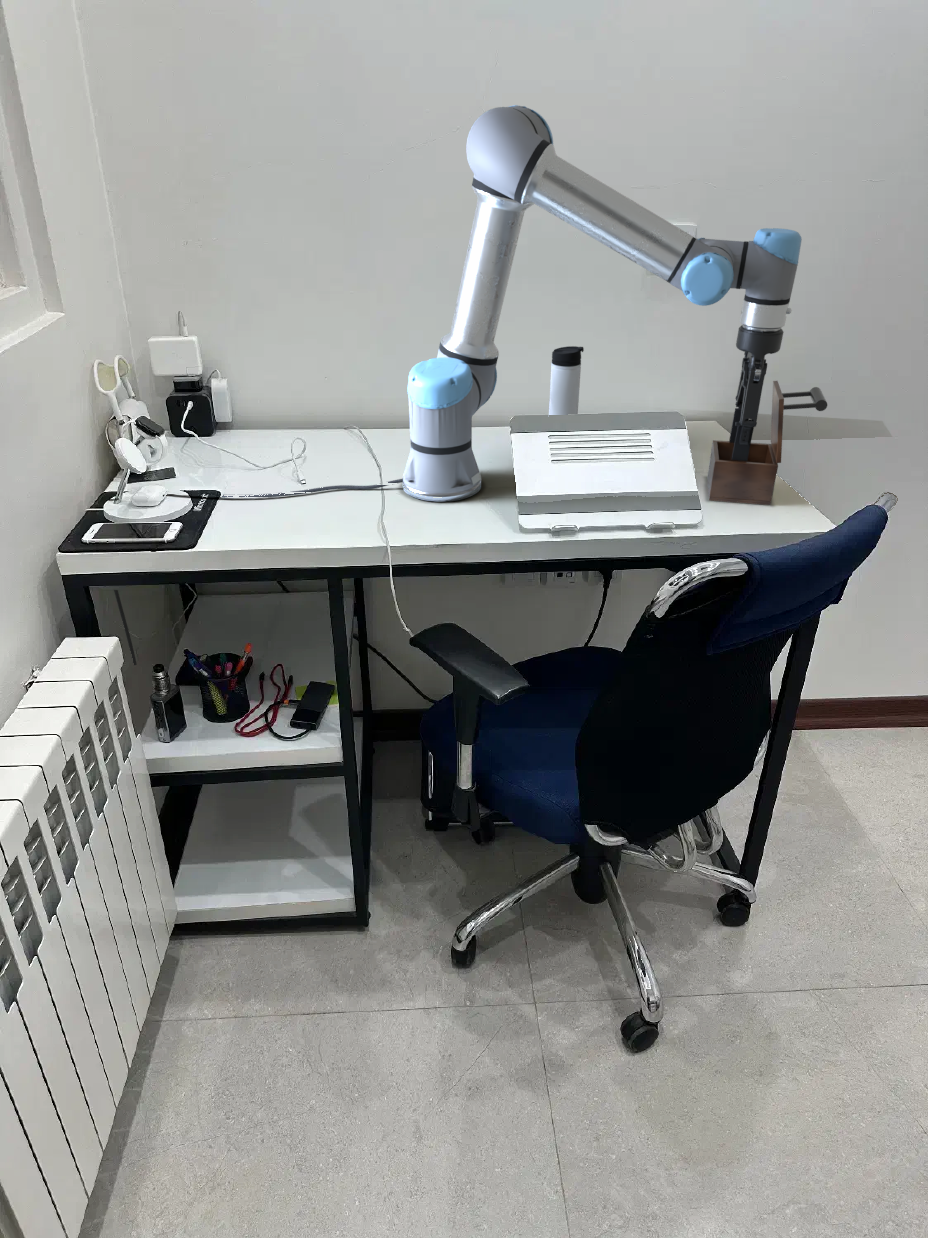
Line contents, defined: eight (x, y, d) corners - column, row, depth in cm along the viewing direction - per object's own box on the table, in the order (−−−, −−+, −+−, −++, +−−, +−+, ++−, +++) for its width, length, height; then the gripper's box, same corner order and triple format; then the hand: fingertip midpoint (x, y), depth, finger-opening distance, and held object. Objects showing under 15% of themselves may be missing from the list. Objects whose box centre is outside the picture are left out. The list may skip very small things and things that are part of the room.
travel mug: (576, 444, 188) (582, 351, 178) (546, 442, 189) (550, 349, 179) (578, 435, 193) (584, 344, 183) (549, 433, 194) (553, 342, 184)
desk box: (708, 500, 162) (714, 461, 158) (707, 477, 171) (712, 439, 167) (770, 505, 160) (778, 465, 156) (765, 481, 169) (772, 443, 165)
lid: (779, 399, 150) (829, 395, 148) (773, 380, 160) (820, 377, 158) (776, 463, 156) (825, 460, 154) (770, 441, 165) (816, 438, 163)
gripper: (791, 342, 140) (763, 473, 152) (778, 314, 158) (754, 433, 170) (743, 339, 141) (719, 469, 153) (735, 312, 159) (715, 430, 171)
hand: (737, 450), depth 162 cm, fingers open, 9 cm apart
